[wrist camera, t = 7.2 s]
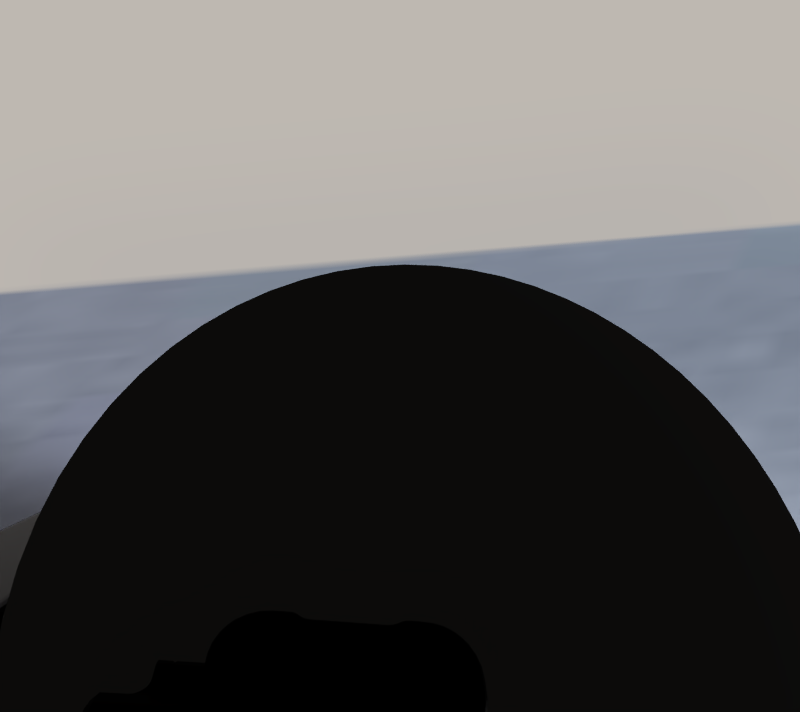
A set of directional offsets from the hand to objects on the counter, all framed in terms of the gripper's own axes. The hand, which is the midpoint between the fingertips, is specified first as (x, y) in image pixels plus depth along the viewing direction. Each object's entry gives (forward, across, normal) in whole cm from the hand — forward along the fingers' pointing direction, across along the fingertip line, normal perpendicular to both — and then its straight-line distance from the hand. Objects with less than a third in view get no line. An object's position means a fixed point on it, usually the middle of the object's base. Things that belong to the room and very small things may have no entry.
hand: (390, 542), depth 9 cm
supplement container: (+4, 0, +6) cm, 7 cm away
